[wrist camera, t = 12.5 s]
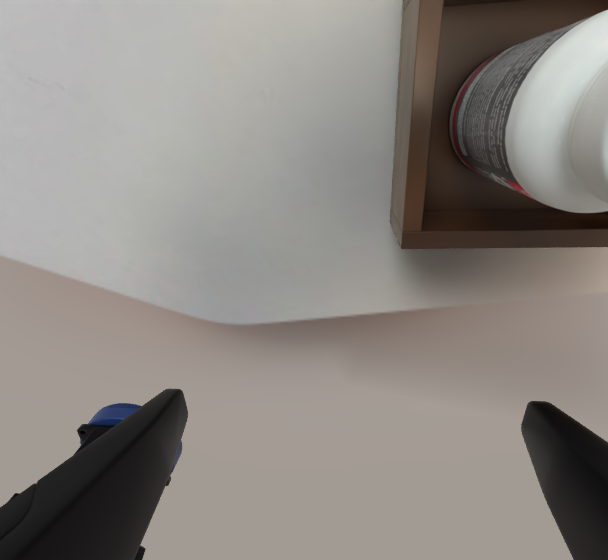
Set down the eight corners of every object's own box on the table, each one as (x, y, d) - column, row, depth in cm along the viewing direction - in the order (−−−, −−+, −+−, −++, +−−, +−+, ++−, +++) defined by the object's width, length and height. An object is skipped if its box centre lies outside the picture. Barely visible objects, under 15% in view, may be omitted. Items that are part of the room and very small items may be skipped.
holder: (590, 219, 18) (654, 247, 14) (389, 222, 19) (400, 249, 16) (667, -33, 14) (786, -85, 10) (403, -10, 15) (423, -50, 11)
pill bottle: (449, 187, 18) (557, 263, 9) (443, 64, 15) (578, 1, 7) (570, 163, 17) (828, 221, 8) (580, 29, 14) (954, -101, 6)
